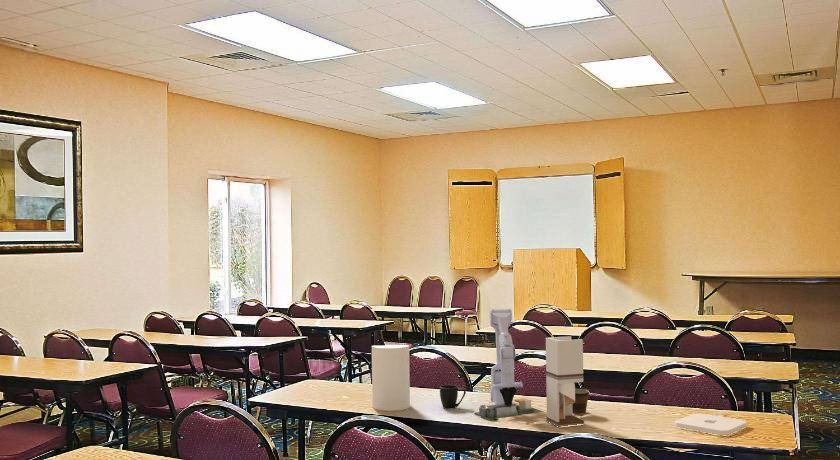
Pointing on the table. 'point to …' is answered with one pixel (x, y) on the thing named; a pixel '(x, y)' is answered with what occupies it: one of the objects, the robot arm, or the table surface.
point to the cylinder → (390, 377)
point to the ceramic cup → (580, 401)
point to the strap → (498, 406)
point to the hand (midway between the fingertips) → (508, 405)
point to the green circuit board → (502, 412)
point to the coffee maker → (563, 378)
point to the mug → (450, 396)
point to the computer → (711, 424)
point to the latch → (523, 403)
